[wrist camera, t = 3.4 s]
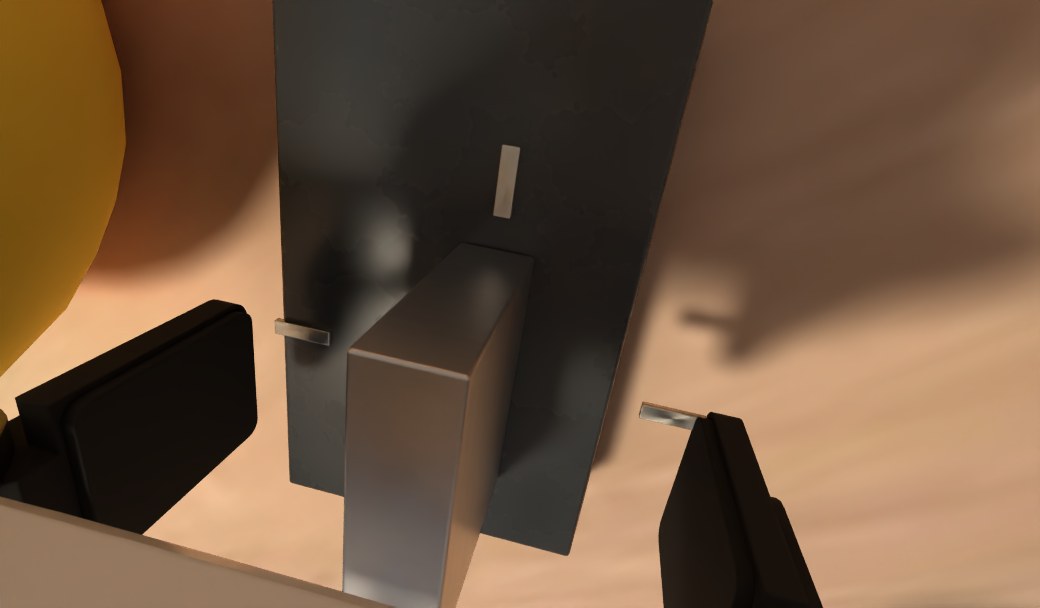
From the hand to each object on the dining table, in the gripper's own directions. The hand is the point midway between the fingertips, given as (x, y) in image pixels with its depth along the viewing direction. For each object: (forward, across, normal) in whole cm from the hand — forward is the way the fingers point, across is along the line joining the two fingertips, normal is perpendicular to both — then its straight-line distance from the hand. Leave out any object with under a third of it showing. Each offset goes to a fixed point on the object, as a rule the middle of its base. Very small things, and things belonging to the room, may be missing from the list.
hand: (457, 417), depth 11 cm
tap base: (+5, +1, -2) cm, 5 cm away
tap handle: (+2, 0, 0) cm, 2 cm away
